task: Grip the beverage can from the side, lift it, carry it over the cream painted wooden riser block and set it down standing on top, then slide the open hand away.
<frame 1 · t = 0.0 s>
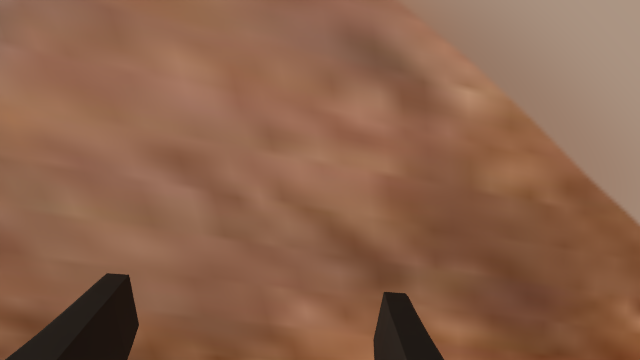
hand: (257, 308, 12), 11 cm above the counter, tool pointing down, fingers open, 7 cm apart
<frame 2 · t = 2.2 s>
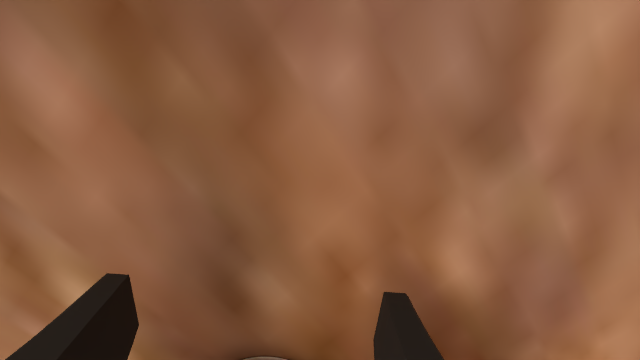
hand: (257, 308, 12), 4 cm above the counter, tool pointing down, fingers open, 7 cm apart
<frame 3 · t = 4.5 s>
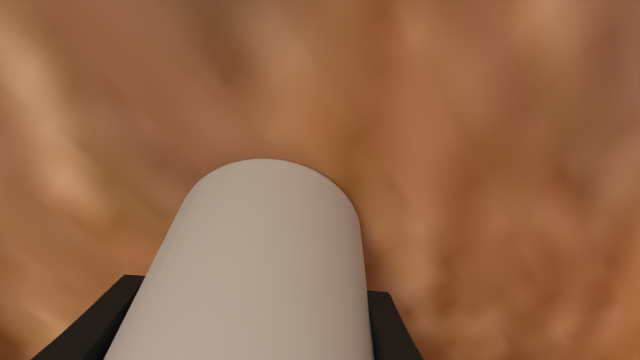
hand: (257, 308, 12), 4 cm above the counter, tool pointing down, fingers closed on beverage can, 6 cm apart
beverage can: (272, 222, 16), on the counter, touching gripper
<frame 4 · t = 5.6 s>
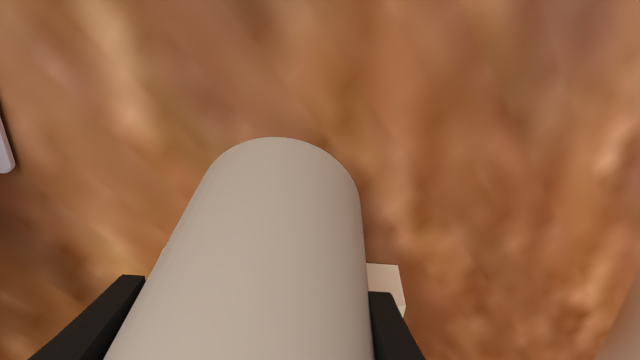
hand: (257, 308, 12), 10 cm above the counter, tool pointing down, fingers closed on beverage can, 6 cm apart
beverage can: (281, 198, 18), point 3 cm above the counter, touching gripper
riser: (277, 335, 27), on the counter
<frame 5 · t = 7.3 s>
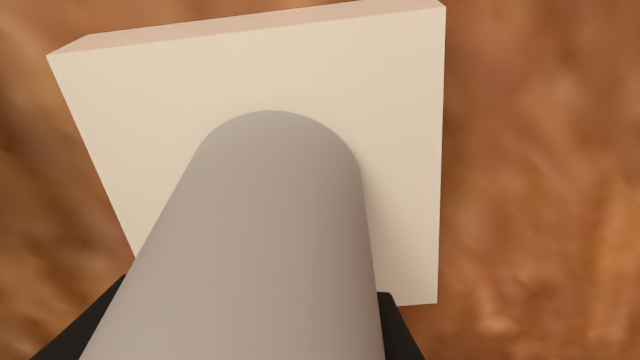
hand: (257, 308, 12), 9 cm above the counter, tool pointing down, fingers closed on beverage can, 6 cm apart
beverage can: (278, 177, 17), point 3 cm above the counter, touching gripper, riser
riser: (280, 163, 20), on the counter
when the fingers open (8 cm above the counter, at t = 7.9 s): beverage can stays where it is, resting on riser.
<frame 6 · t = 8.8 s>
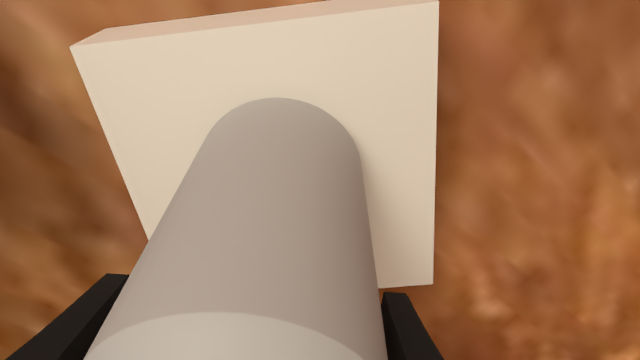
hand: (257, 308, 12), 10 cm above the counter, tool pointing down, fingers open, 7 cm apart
beverage can: (282, 162, 18), point 3 cm above the counter, touching riser
riser: (285, 151, 21), on the counter
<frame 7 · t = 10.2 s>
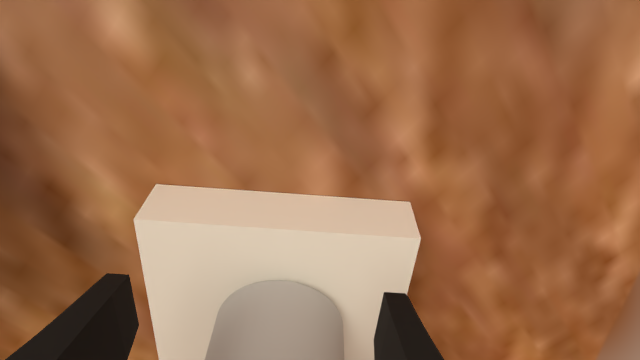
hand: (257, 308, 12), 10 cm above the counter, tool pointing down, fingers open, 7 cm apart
beverage can: (281, 312, 23), point 3 cm above the counter, touching riser
riser: (280, 285, 26), on the counter
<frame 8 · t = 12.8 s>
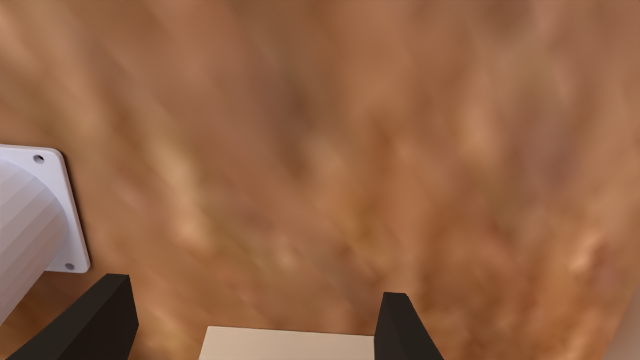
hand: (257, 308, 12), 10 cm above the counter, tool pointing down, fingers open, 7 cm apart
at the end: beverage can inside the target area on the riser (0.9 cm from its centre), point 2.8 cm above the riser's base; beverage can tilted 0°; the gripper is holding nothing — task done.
